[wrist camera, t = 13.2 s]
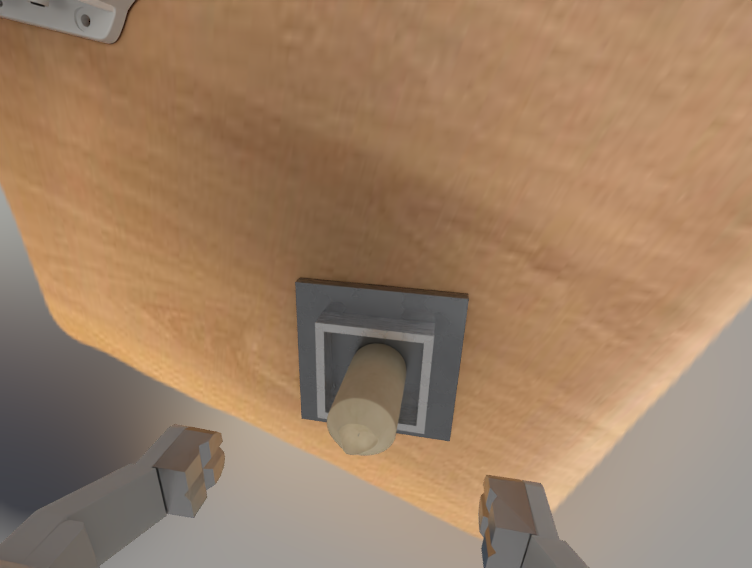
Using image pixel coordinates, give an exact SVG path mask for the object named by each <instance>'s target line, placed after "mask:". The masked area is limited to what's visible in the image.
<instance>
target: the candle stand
mask: <svg viewBox="0 0 752 568" xmlns="http://www.w3.org/2000/svg"><path fill="white" fill-rule="evenodd" d="M295 284H296V306H297V328H298V350H299V371H300V393H301V415H302V419H309V420H315V421H322V422H327V417H328V414H329V411H330V409H331V407H332V404H333V402H334V400H335V397H336V395H337V393H338V390H339V388H340V386H341V384H342V381H343V379H344V377H345V374H346V372H347V370H348V367H349V365H350V363H351V361H352V359H353V357H354V355H355V354H356V352H357V351H358V350H359V349H360V348H362V347H363V346H365V345H368V344H374V343H379V344H385V345H388V346H390V347H392V348H394V349H395V350H396V351H398V352H399V353H400V354H401V356H402V357H403V359H404V361H405V364H406V379H405V385H404V391H403V397H402V402H401V408H400V414H399V420H398V425H397V431H396V433H399V434H406V435H412V436H419V437H425V438H432V439H438V440H445V441H450V435H451V427H452V420H453V413H454V405H455V398H456V390H457V383H458V375H459V368H460V361H461V353H462V346H463V338H464V331H465V323H466V316H467V309H468V301H469V297H468V294H464V293H453V292H443V291H432V290H422V289H412V288H401V287H391V286H380V285H370V284H360V283H349V282H339V281H328V280H318V279H308V278H299V279H298V280H297V281H296V282H295Z"/></svg>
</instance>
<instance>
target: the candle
mask: <svg viewBox="0 0 752 568" xmlns="http://www.w3.org/2000/svg"><path fill="white" fill-rule="evenodd" d="M405 379H406V364H405V361H404V359H403V357H402V356H401V354H400V353H399V352H398V351H396V350H395V349H394V348H392V347H390V346H388V345H385V344H379V343H374V344H368V345H365V346H363V347H362V348H360V349H359V350H358V351H357V352H356V354H355V355H354V357H353V359H352V361H351V363H350V365H349V367H348V370H347V372H346V374H345V377H344V379H343V381H342V384H341V386H340V388H339V390H338V393H337V395H336V397H335V400H334V402H333V404H332V407H331V409H330V411H329V414H328V417H327V427H328V430H329V433H330V435H331V436H332V438H333V439H334V440H335V442H336V443H337V444H338V445H339V446H340V447H341V448H342V449H343V450H344V452H345V453H346V454H349V455H374V454H378V453H381V452H383V451H385V450H386V449H388V448H389V447H390V446H391V445H392V443H393V442H394V439H395V436H396V431H397V425H398V420H399V414H400V408H401V402H402V397H403V391H404V385H405Z"/></svg>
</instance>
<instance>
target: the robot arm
mask: <svg viewBox="0 0 752 568" xmlns="http://www.w3.org/2000/svg"><path fill="white" fill-rule="evenodd" d="M134 1H135V0H0V17H1V18H5V19H9V20H13V21H17V22H21V23H25V24H29V25H33V26H37V27H41V28H46V29H50V30H54V31H58V32H62V33H66V34H70V35H74V36H78V37H82V38H86V39H90V40H94V41H98V42H102V43H108V44H110V43H114V42H115V41H116V40H117V39H118V37H119V35H120V33H121V30H122V28H123V25H124V22H125V18H126V15H127V11H128V9H129V8H130V6H131V5H132V4H133V2H134ZM89 19H90V25H89ZM222 442H223V441H222V436H221V433H219V432H216V431H210V430H205V429H200V428H195V427H188V426H182V425H177V424H174V425H172V426H170V427H169V428H168V429H167V430H166V431H165V432H164V433H163V435H161V437H160V438H159V439H158V440H157V441H156V442H155V443H154V444H153V445H152V446H151V447H150V448H149V449H148V451H147V452H146V453H145V454H144V455H143V456H142V457H141V458H140V459H139V460H138V462H136V464H129V465H127V466H125V467H123V468H121V469H119V470H117V471H115V472H113V473H111V474H109V475H107V476H105V477H103V478H101V479H99V480H97V481H95V482H93V483H91V484H89V485H87V486H85V487H83V488H81V489H79V490H77V491H75V492H73V493H71V494H69V495H67V496H65V497H63V498H61V499H59V500H57V501H55V502H53V503H51V504H49V505H47V506H45V507H43V508H41V509H39V510H37V511H35V512H34V513H33V514H32V515H31V516H30V517H29V518H28V519H27V520H26V521H25V522H24V523H22V524H21V525H20V526H19V527H18V528H17V529H16V530H15V531H14V532H13V533H12V534H11V535H10V536H9V537H8V538H6V539H5V540H4V541H3V542H2V543H1V544H0V568H100V567H99V566H100V565H101V564H103V563H104V562H105V561H107V560H108V559H109V558H111V557H112V556H113V555H114V554H116V553H117V552H119V551H120V550H121V549H123V548H124V547H125V546H127V545H128V544H129V543H131V542H132V541H133V540H135V539H136V538H137V537H138V536H140V535H141V534H142V533H144V532H145V531H147V530H148V529H149V528H151V527H152V526H153V525H154V524H155V523H157V522H159V521H160V520H161V519H163V518H164V517H165V516H166V514H172V515H179V516H185V517H191V518H194V517H195V515H196V514H197V512H198V511H199V509H200V508H201V506H202V505H203V503H204V501H205V500H206V498H207V492H206V490H207V489H209V488H210V487H212V486H214V485H215V484H216V483H217V481H218V479H219V478H220V476H221V473H222V470H223V468H224V461H225V455H224V452H223V450H222V449H221V448H220V447H219V446H220V444H221V443H222ZM483 486H484V493H483V494H482V495H481V497H480V502H479V530H480V533H481V534H482V536H483V537H484V539H483V543H482V548H481V549H482V558H483V567H484V568H589V567H588V566H587V565H586V564H585V562H584V561H583V560H582V559H581V558H580V557H579V556H578V555H577V553H576V552H575V551H574V550H573V549H572V548H571V547H570V546H569V544H568V543H567V542H566V541H563V540H559V536H558V533H557V530H556V527H555V523H554V520H553V517H552V513H551V510H550V507H549V504H548V500H547V497H546V494H545V491H544V487H543V486H542V484H541V483H537V482H531V481H524V480H522V481H521V480H519V479H512V478H505V477H498V476H492V475H486V476H485V479H484V483H483Z"/></svg>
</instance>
